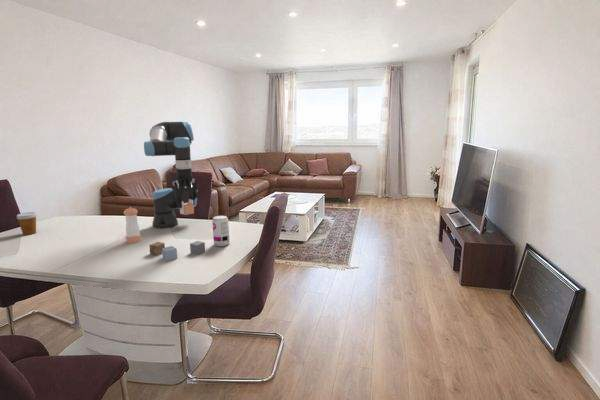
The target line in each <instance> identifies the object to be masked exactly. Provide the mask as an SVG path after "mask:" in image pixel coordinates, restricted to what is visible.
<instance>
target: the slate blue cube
mask: <svg viewBox="0 0 600 400" xmlns="http://www.w3.org/2000/svg"><path fill="white" fill-rule="evenodd" d="M177 252H178V250H177V247H174V246H173V245H171V246H167V247H166V246H165V248H162V254H161V255H162V259H163V260H165V261H167V262H169V261H172V260H176V259H178V253H177Z"/></svg>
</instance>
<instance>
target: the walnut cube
mask: <svg viewBox="0 0 600 400" xmlns="http://www.w3.org/2000/svg"><path fill="white" fill-rule="evenodd" d="M148 246H149V255H152V256H155V257H156V256H160V255H162V248H166V246H165V242H160V241H156V242H152V243H150V244H149V245H148Z"/></svg>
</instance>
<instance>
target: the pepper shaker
mask: <svg viewBox="0 0 600 400" xmlns="http://www.w3.org/2000/svg"><path fill="white" fill-rule="evenodd" d="M138 213H139V211H138V209H137V208H134V207H131V206H130V207H128V208H126V209H125V210H124V211H123V215H124V216H125V222H126V223H125V238H126V239H125V240H126V243H127V244H137V243H140V242H141V241H142V236H141V233H140V226H139V223H138V217H137V215H138Z"/></svg>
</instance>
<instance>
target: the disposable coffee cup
mask: <svg viewBox="0 0 600 400" xmlns="http://www.w3.org/2000/svg"><path fill="white" fill-rule="evenodd" d="M16 220H17V221H18V225H19V227H20V230H21V232H22V233H21V234H22V236H29V235H31V236H32V235H35V234H37V214H36V212H33V211H32V212H22V213H19V214H16Z"/></svg>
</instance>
